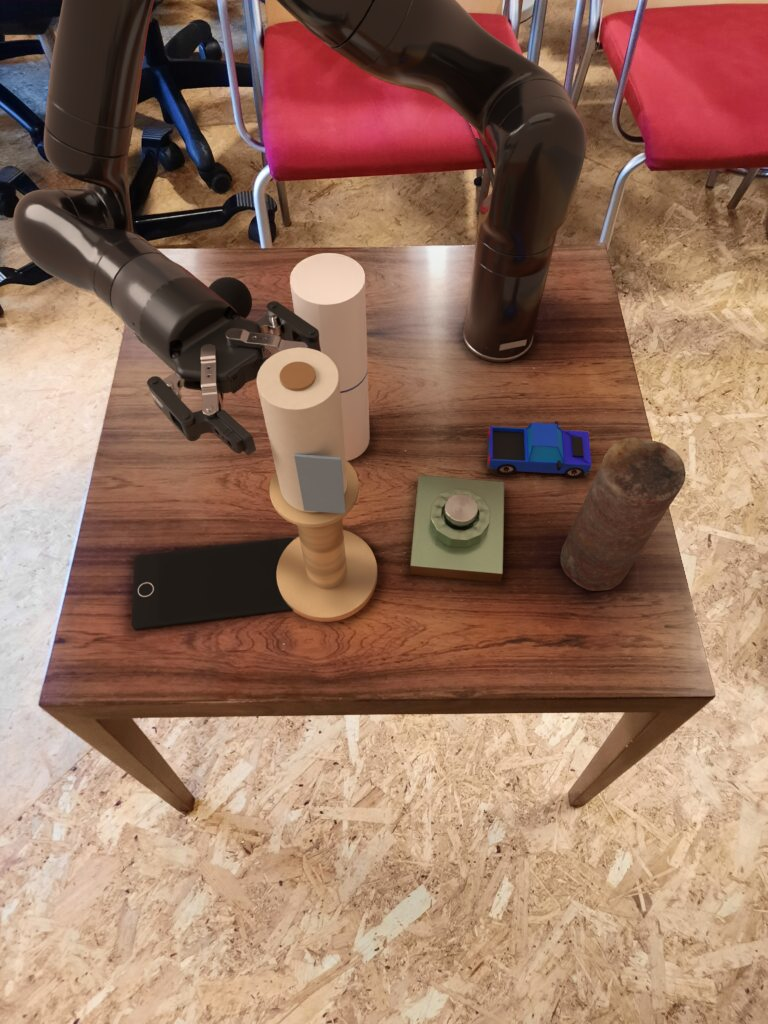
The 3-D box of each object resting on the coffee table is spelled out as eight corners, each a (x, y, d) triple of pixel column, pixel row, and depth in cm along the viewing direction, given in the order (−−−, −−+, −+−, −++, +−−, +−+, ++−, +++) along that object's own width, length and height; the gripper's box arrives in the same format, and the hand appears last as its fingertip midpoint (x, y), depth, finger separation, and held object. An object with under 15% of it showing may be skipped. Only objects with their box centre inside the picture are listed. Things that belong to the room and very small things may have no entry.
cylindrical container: (362, 466, 89) (356, 309, 67) (305, 456, 90) (281, 298, 68) (375, 420, 92) (372, 258, 71) (319, 411, 93) (300, 248, 72)
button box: (417, 484, 87) (419, 465, 84) (501, 491, 87) (506, 472, 83) (409, 574, 81) (410, 557, 78) (500, 582, 81) (505, 566, 77)
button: (444, 500, 82) (445, 492, 80) (476, 503, 82) (478, 494, 80) (442, 528, 80) (443, 520, 79) (475, 531, 80) (477, 523, 78)
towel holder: (286, 528, 84) (264, 432, 69) (382, 537, 84) (381, 441, 68) (269, 617, 78) (241, 533, 63) (371, 626, 78) (368, 544, 63)
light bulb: (268, 336, 100) (257, 278, 92) (241, 363, 97) (228, 306, 89) (234, 319, 102) (221, 261, 93) (207, 345, 99) (191, 288, 91)
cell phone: (136, 559, 83) (134, 555, 82) (296, 540, 84) (295, 536, 83) (133, 632, 78) (130, 629, 77) (302, 611, 79) (301, 607, 78)
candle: (608, 609, 79) (669, 512, 62) (546, 577, 81) (589, 474, 64) (635, 556, 82) (700, 450, 65) (574, 526, 84) (623, 416, 67)
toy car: (587, 485, 87) (597, 461, 83) (486, 480, 88) (491, 455, 83) (583, 440, 91) (593, 415, 86) (486, 435, 91) (490, 410, 87)
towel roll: (286, 454, 67) (264, 341, 55) (354, 459, 67) (347, 347, 55) (274, 512, 64) (247, 406, 52) (345, 518, 64) (336, 413, 51)
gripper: (90, 323, 59) (212, 438, 53) (230, 242, 64) (356, 338, 58) (119, 385, 66) (231, 494, 60) (244, 307, 71) (359, 399, 65)
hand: (293, 417), depth 59 cm, fingers open, 8 cm apart
